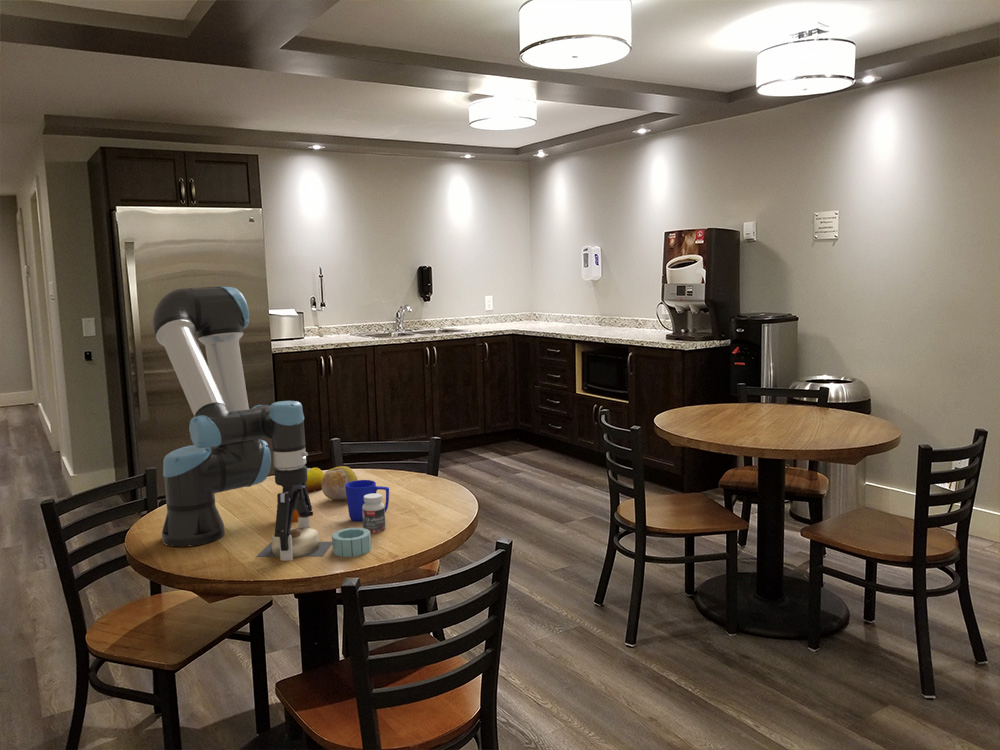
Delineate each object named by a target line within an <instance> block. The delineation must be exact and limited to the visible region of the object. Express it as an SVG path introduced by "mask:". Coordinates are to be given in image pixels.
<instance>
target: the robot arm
mask: <svg viewBox="0 0 1000 750" xmlns="http://www.w3.org/2000/svg"><path fill="white" fill-rule="evenodd" d="M151 323H152V331H153V334H154V337H155V339H156V341H157V343H158V344H160V345H161V346H163V347H164V349H165V351H166V354H167V356H168V358H169V361H170V363H171V365H172V367H173V370H174V372H175V374H176V376H177V379H178V382H179V384H180V387H181V388H182V391H183V393H184V396H185V398H186V400H187V402H188V405H189V407H190V410H191V412H192V414H193V417H191V419H190V421H189V427H188V429H189V431H188V432H189V434H190V440H191V442H192V445H187V446H183V447H180V448H177V449H174V450H172V451H170V452H169V453H167V454H166V455H165V456H164V458H163V464H162V467H163V470H162V476H163V481H164V489H165V490H164V491H165V501H166V503H165V504H166V515H165V520H164V522H163V527H162V530H161V538H162V539H161V542H162V541H163V542H162V544H164V543H165V544H167V545H166V546H168V545H173V546H172V547H174V546H186V547H190V546H189V545H195V546H199V545H198V544H201V545H204V544H203V543H205V544H208V542H209V543H211V541H212V542H214V540H215V541H216V540H217V541H218V540H219V539H221V538H222V537H223V536H224V535H225V533H226V530H225V529H226V528H225V524H224V521H223V518H222V517H221V514H220V512H219V510H218V508H217V506H216V494H217V493H222V492H228V491H231V490H232V491H233V490H237V489H242V488H248V487H249V488H250V487H252V486H254V485H258V484H261V483H263V482H265V480H266V479H267V478H268V476H269V473H270V471H271V467H272V465H271V464H272V461H273V467H274V468H275V469H274V470H273V471H274V473H273V474H274V482H275V485H277V486H281V487H282V492H281V493H279V492H278V493H277V496H276V498H277V504H276V505H277V507H276V517H275V526H274V527H275V529H274V534H273V535H274V536H275V537H279V544H280V557H279V558H280V561H293V560H294V557H293V550H292V536H291V535H290V529H292V523H293V522H292V518H293V512H294V510H295V509H296V510H297V512H298V514H299V516H301V517H298V522H297V524H298V527H297V528H311V522H310V519H311V518H310V517H313V515H314V511H312V510H313V506H312V503H311V500H310V499H311V498H310V495H309V493H308V491H307V487H306V481H307V480H308V477H307V468H308V467H307V466H306V464H307V457H308V456H309V454H308V452H307V451H306V439H305V438H306V436H305V415H304V410H303V405H302V403H301V402H299V401H297V400H296V401H295V400H283V401H282V400H280V401H276V402H275V401H274V402H272V403H271V405H269V404H258V405H254V406H253V407H251V408H250V407H249V406H250V405H249V402H248V393H247V389H246V387H247V386H246V380H245V375H244V373H245V372H244V368H243V362H242V361H243V360H242V355H241V347H240V339H241V338H242V337H243V336H244V329H246V328H247V327H248V326H249V324H250V310H249V306H248V303H247V300H246V297H245V296H244V295H243V294H242V292H241V291H240V290H239V289H237V288H235V287H233V286H232V287H231V286H222V285H221V286H207V287H205V286H203V287H189V288H188V287H182V288H176V289H173V290H171V291H168V292H167V293H165V294H164V295H163V297H161V299H159V301H158V302H157V303H156V306H155V307H154V311H153V314H152V321H151ZM195 333H196V334H197V339H196V337H195ZM197 340H198V341H199V342H200V343H202V344H203V345H204V348H205V353H206V359H205V356H204V354H203V352H202V350H201V348H200V345H199V343H198V341H197ZM206 360H207V361H206ZM264 438H265V439H266V438H268V439H271V443H272V453H271V450H270V448H269V444H268V442H267V441H265V440H264ZM271 454H272V455H271ZM308 516H309V517H308ZM165 544H164V545H165Z"/></svg>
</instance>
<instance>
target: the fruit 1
mask: <svg viewBox="0 0 1000 750" xmlns="http://www.w3.org/2000/svg"><path fill="white" fill-rule="evenodd" d="M324 475H325V473H324V472H323V470H321V469H320V468H318V467H312V468H310V467H309V468H308V467H307V477H308V480H307V481H306V487H307V491H308V494H309V493H315V492H318V491H321V490H322V480H323V477H324Z"/></svg>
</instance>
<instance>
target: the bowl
mask: <svg viewBox="0 0 1000 750" xmlns="http://www.w3.org/2000/svg"><path fill="white" fill-rule="evenodd" d="M371 534H372V533H370V531H369V530H368V529H364V528H363V527H347V528H342V529H339V530H336V531H335V532H333V533H332V535H331V542H332V545H331V547H332V553H333V554H334V555H335V556H336V557H337V556H338V557H342V558H352V557H358V556H359V557H360V556H362V555H365V554H368V553H369V552H370V551H371V550H372V542H371V541H372V535H371Z"/></svg>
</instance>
